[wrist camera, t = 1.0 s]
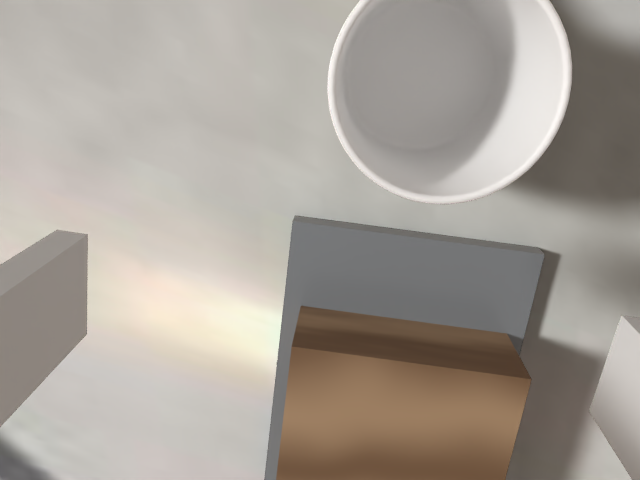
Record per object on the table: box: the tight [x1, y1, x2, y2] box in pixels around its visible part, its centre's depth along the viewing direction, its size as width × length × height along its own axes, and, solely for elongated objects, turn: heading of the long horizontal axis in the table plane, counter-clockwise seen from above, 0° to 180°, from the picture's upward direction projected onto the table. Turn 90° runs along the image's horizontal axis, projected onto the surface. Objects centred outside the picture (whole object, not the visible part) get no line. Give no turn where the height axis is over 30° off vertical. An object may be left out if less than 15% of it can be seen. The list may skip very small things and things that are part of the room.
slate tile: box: [264, 216, 545, 480], centre depth 36 cm, size 18×14×1 cm
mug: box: [328, 0, 572, 204], centre depth 25 cm, size 9×12×11 cm
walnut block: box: [276, 306, 531, 480], centre depth 33 cm, size 12×12×5 cm
